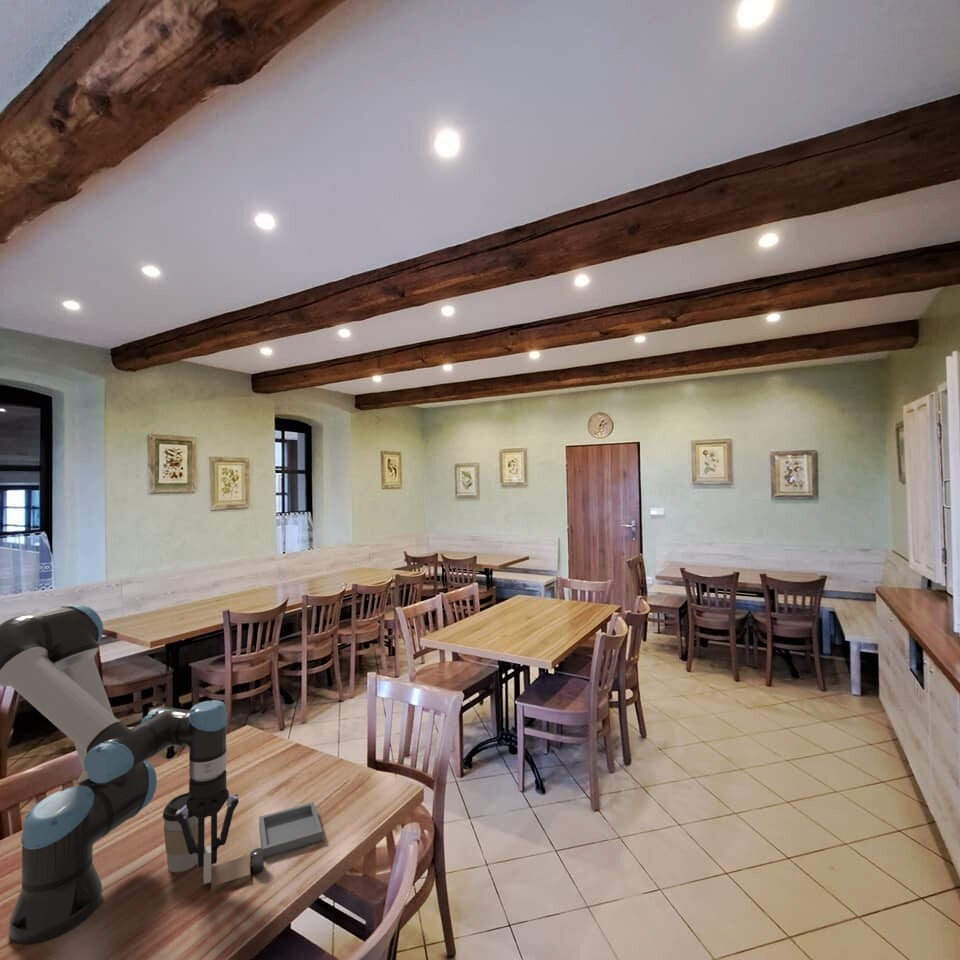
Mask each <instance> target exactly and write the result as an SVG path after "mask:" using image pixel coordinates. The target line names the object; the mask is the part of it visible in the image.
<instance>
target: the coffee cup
mask: <svg viewBox="0 0 960 960" xmlns="http://www.w3.org/2000/svg"><path fill="white" fill-rule="evenodd" d="M188 798H189V791H188V792H187V793H183V794H179V795H178V796H175V797H174V798H172V799H171V800H170V801H169V802H168V804H166V806H165V807H164V809H163V813H162V818H163V823H164V824H163V831H164V844H165V852H166V861H167V869H168V871H169V872H171V873H181V872H185V871H188V870H190V869H192V868H193V867H195V866H196V865H198V854H196V853H193V854H189V852H188V849H187V845H186V842H185V838H184V835H183V831H182V828H181V825H180V823H179V822H178V821H177V820H176V819H175V816H176V811H177V810H178V809H182V808H183V807H184V806H185V805H186V804H187V800H188ZM188 820H189V823H190V827H191V830H192V834H193V837H194V841H195V844H198V818H197V817H195V816H194V815H193V814H192V813H191V812H190V811H189V810H188Z"/></svg>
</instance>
